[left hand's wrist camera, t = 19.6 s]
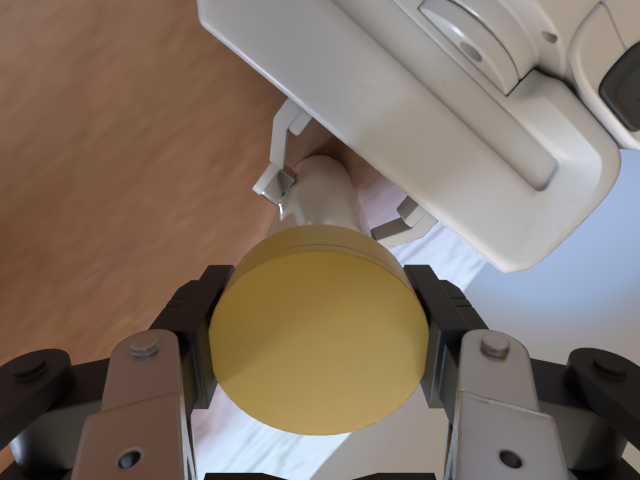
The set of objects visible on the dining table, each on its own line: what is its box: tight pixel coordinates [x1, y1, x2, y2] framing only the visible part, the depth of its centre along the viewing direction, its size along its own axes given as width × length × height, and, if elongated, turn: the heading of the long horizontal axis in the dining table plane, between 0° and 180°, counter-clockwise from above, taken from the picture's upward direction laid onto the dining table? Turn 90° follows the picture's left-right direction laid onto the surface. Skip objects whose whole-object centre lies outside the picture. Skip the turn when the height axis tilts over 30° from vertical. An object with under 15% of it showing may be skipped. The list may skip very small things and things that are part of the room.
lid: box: [208, 224, 429, 436], centre depth 10 cm, size 5×5×2 cm
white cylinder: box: [265, 155, 374, 239], centre depth 18 cm, size 4×4×17 cm
